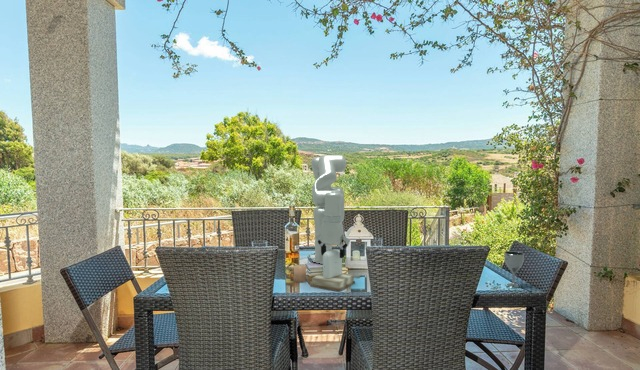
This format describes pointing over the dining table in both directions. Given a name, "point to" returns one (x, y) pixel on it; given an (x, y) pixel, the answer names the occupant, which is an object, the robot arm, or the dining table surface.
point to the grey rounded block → (332, 263)
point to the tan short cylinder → (300, 273)
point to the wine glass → (514, 263)
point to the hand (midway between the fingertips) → (332, 256)
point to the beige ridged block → (333, 282)
